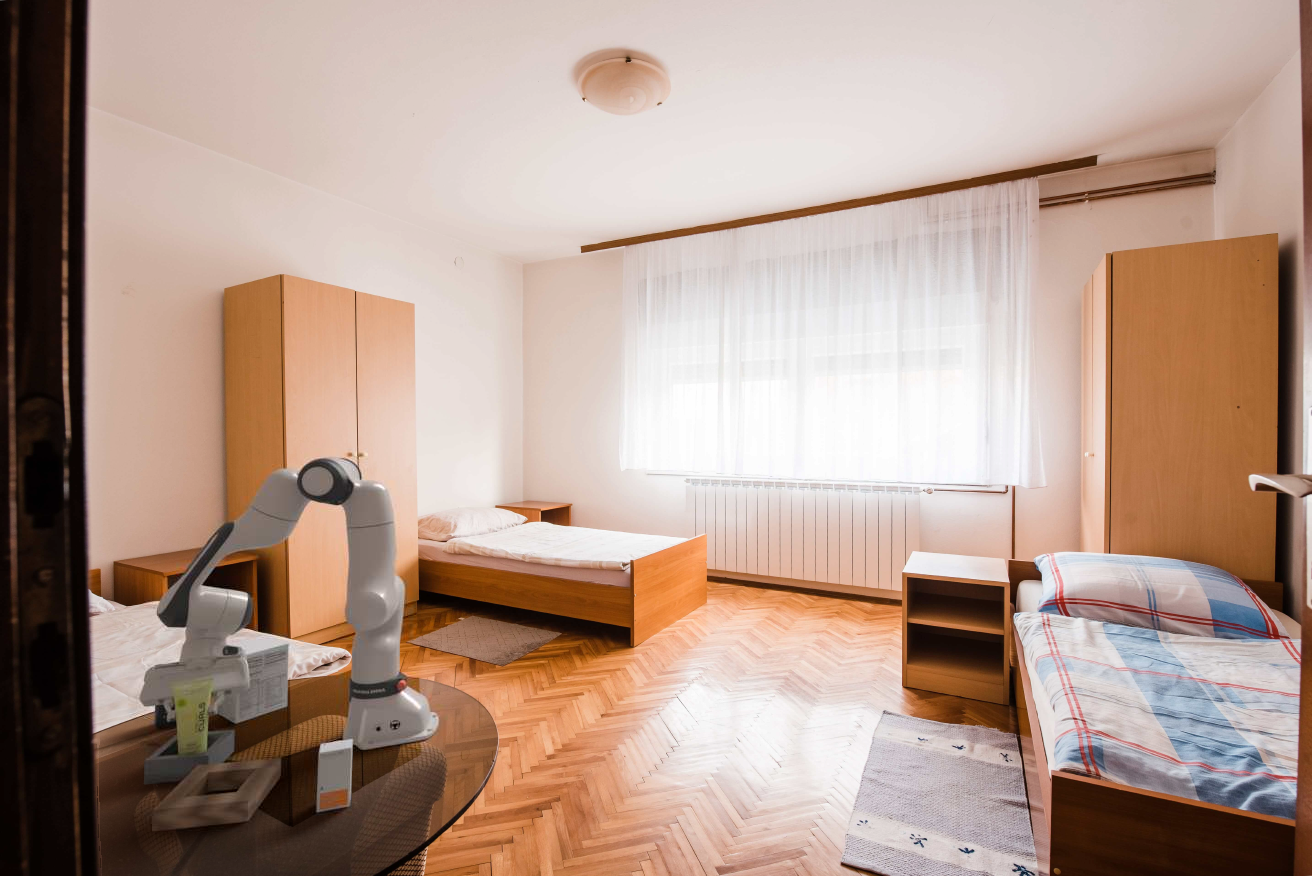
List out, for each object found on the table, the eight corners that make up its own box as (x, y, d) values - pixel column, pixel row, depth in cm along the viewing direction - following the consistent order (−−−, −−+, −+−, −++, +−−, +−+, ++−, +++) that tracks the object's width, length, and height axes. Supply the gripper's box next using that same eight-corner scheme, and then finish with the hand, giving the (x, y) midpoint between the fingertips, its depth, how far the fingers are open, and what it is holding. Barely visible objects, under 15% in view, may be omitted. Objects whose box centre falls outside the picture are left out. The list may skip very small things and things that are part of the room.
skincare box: (316, 814, 119) (317, 753, 119) (318, 802, 122) (319, 743, 123) (350, 807, 121) (351, 747, 121) (351, 795, 125) (353, 737, 125)
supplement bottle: (168, 731, 151) (170, 683, 151) (147, 728, 152) (148, 681, 152) (194, 719, 158) (196, 673, 158) (173, 716, 159) (174, 671, 159)
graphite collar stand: (234, 750, 142) (234, 729, 142) (207, 778, 130) (208, 755, 130) (176, 755, 139) (176, 734, 140) (143, 784, 128) (144, 760, 128)
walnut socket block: (280, 776, 132) (281, 758, 132) (247, 821, 116) (248, 800, 116) (197, 784, 128) (198, 765, 128) (152, 831, 113) (152, 809, 113)
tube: (186, 775, 131) (187, 686, 131) (169, 771, 133) (171, 683, 133) (212, 762, 137) (213, 676, 137) (196, 758, 138) (197, 673, 138)
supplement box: (288, 706, 166) (290, 643, 166) (235, 724, 155) (236, 657, 155) (265, 695, 173) (266, 634, 174) (212, 711, 162) (213, 647, 162)
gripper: (144, 659, 137) (129, 720, 128) (251, 646, 146) (244, 702, 137) (149, 672, 140) (135, 732, 132) (253, 659, 150) (247, 714, 141)
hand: (192, 716), depth 134 cm, fingers closed on tube, 6 cm apart
